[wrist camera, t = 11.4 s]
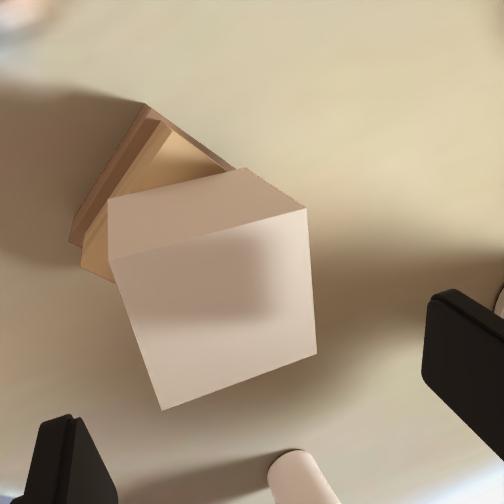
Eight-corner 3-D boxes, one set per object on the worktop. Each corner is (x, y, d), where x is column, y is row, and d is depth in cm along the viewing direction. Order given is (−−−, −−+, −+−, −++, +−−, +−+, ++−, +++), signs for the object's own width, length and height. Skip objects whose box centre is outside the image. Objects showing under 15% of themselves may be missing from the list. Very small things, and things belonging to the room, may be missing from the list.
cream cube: (245, 167, 17) (306, 207, 12) (261, 281, 20) (316, 353, 14) (107, 199, 15) (108, 260, 10) (145, 316, 18) (161, 411, 13)
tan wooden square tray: (249, 178, 26) (271, 194, 22) (184, 271, 27) (195, 300, 23) (144, 103, 22) (151, 108, 18) (74, 216, 23) (68, 241, 20)
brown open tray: (262, 197, 22) (290, 219, 19) (193, 289, 23) (208, 327, 20) (160, 120, 19) (172, 130, 15) (84, 233, 20) (79, 266, 16)
